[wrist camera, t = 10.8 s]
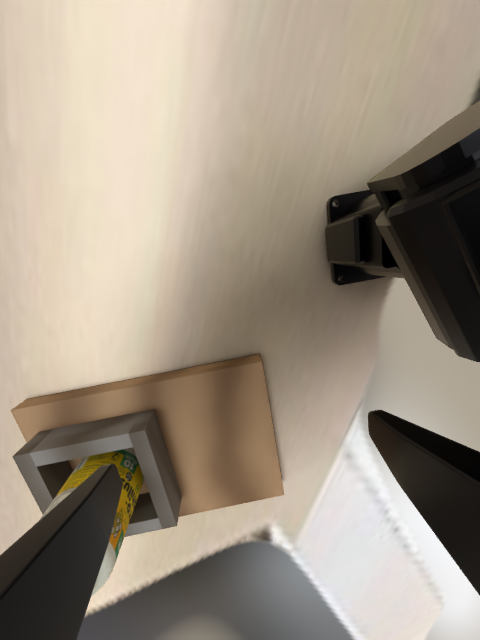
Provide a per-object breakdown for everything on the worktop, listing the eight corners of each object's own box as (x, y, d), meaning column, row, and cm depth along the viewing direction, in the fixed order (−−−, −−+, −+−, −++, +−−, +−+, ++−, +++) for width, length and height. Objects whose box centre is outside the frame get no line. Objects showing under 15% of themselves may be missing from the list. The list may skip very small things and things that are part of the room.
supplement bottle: (77, 442, 20) (-54, 607, 10) (142, 436, 20) (73, 591, 11) (90, 493, 21) (-14, 679, 12) (152, 487, 21) (98, 663, 12)
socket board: (259, 354, 20) (267, 376, 17) (280, 480, 24) (291, 522, 20) (25, 399, 20) (-22, 433, 16) (83, 521, 24) (56, 572, 20)
